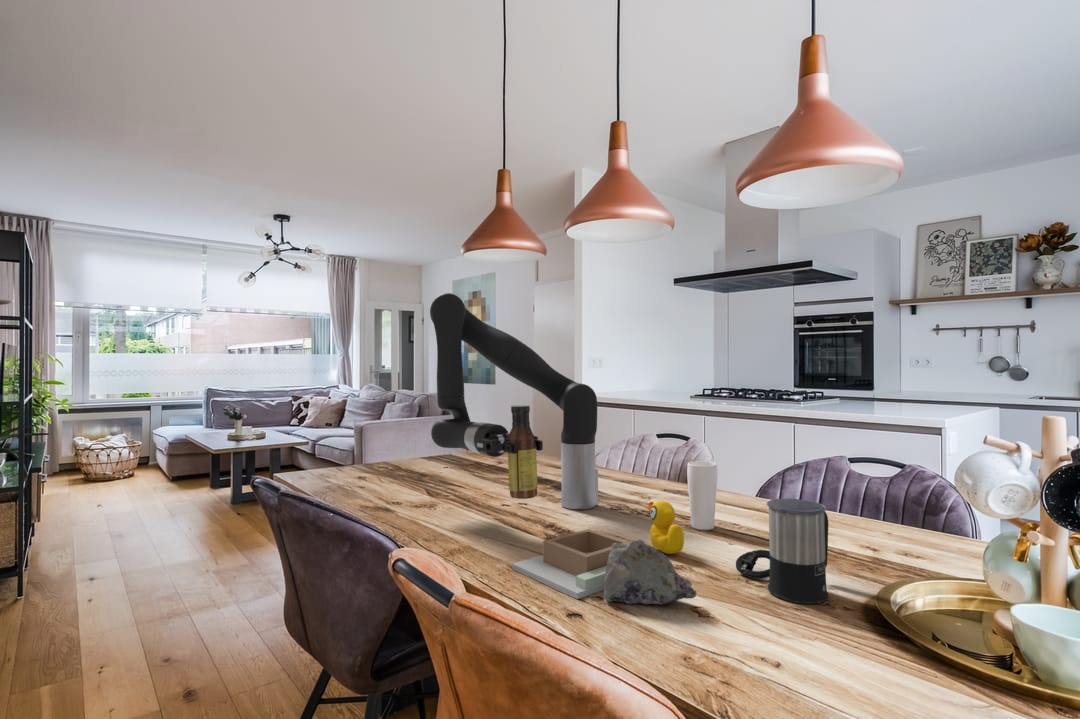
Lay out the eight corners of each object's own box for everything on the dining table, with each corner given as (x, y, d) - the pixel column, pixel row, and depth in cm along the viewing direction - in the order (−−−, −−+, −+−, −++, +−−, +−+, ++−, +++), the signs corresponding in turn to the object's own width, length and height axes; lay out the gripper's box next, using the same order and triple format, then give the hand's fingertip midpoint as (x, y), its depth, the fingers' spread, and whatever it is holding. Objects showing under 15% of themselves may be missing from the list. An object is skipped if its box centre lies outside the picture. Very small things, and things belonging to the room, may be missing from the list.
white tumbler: (685, 530, 131) (685, 465, 131) (689, 522, 137) (689, 460, 137) (716, 533, 128) (715, 466, 128) (719, 525, 134) (718, 462, 135)
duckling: (639, 544, 121) (638, 497, 121) (661, 541, 123) (661, 495, 123) (667, 561, 110) (667, 510, 110) (691, 558, 112) (691, 507, 112)
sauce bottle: (541, 494, 125) (541, 404, 125) (531, 501, 120) (531, 406, 120) (514, 492, 128) (514, 403, 128) (503, 498, 122) (503, 406, 122)
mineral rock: (700, 607, 89) (699, 544, 89) (655, 628, 83) (655, 558, 83) (638, 583, 99) (637, 526, 100) (594, 599, 93) (593, 538, 93)
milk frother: (824, 610, 88) (823, 514, 88) (721, 589, 96) (720, 502, 97) (833, 580, 100) (832, 496, 100) (741, 564, 108) (740, 486, 109)
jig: (595, 545, 120) (595, 521, 120) (663, 568, 106) (663, 541, 106) (512, 569, 107) (512, 542, 107) (577, 599, 93) (577, 568, 93)
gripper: (460, 425, 130) (501, 432, 117) (511, 421, 139) (554, 427, 126) (460, 457, 130) (501, 468, 117) (511, 451, 139) (554, 460, 126)
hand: (528, 447), depth 122 cm, fingers closed on sauce bottle, 6 cm apart
